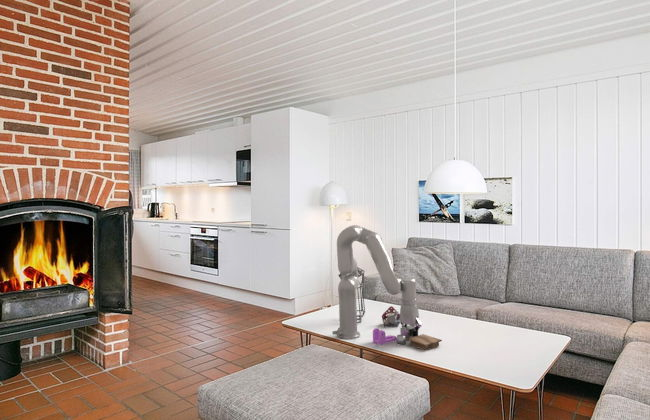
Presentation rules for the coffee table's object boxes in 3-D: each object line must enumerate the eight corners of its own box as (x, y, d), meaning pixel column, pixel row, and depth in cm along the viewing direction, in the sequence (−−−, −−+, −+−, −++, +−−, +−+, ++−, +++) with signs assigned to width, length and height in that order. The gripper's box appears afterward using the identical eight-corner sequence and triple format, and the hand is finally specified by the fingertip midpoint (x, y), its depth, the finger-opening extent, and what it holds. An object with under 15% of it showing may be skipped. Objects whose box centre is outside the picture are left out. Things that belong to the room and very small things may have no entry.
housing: (407, 341, 217) (407, 330, 217) (400, 339, 221) (400, 327, 221) (418, 338, 222) (418, 327, 222) (411, 336, 226) (411, 325, 226)
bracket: (380, 345, 213) (379, 331, 213) (372, 342, 217) (372, 328, 217) (398, 340, 220) (398, 326, 220) (391, 337, 224) (391, 324, 224)
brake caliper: (401, 318, 253) (401, 305, 246) (401, 333, 244) (401, 320, 237) (382, 317, 255) (381, 304, 247) (382, 332, 246) (381, 320, 239)
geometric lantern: (366, 324, 248) (363, 266, 248) (339, 324, 251) (337, 266, 250) (367, 317, 264) (365, 262, 263) (342, 317, 266) (340, 262, 266)
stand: (425, 351, 202) (425, 344, 202) (407, 344, 212) (407, 338, 212) (441, 345, 209) (441, 339, 209) (423, 339, 219) (423, 334, 219)
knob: (401, 345, 211) (401, 337, 211) (395, 343, 214) (395, 335, 214) (407, 343, 213) (407, 336, 213) (401, 341, 217) (401, 333, 217)
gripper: (392, 300, 226) (393, 334, 226) (416, 306, 212) (417, 341, 212) (402, 298, 230) (403, 331, 230) (426, 303, 216) (428, 338, 216)
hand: (410, 335), depth 221 cm, fingers open, 6 cm apart
